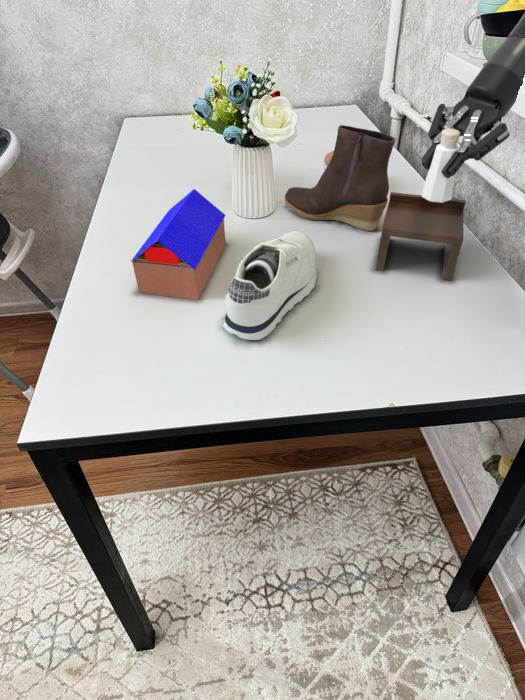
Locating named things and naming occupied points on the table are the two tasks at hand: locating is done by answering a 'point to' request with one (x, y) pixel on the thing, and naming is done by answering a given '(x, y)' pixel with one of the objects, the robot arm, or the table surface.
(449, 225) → the shelf
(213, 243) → the house
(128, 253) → the table surface
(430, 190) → the salt shaker
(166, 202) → the table surface
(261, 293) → the running shoe
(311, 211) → the boot
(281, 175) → the table surface
